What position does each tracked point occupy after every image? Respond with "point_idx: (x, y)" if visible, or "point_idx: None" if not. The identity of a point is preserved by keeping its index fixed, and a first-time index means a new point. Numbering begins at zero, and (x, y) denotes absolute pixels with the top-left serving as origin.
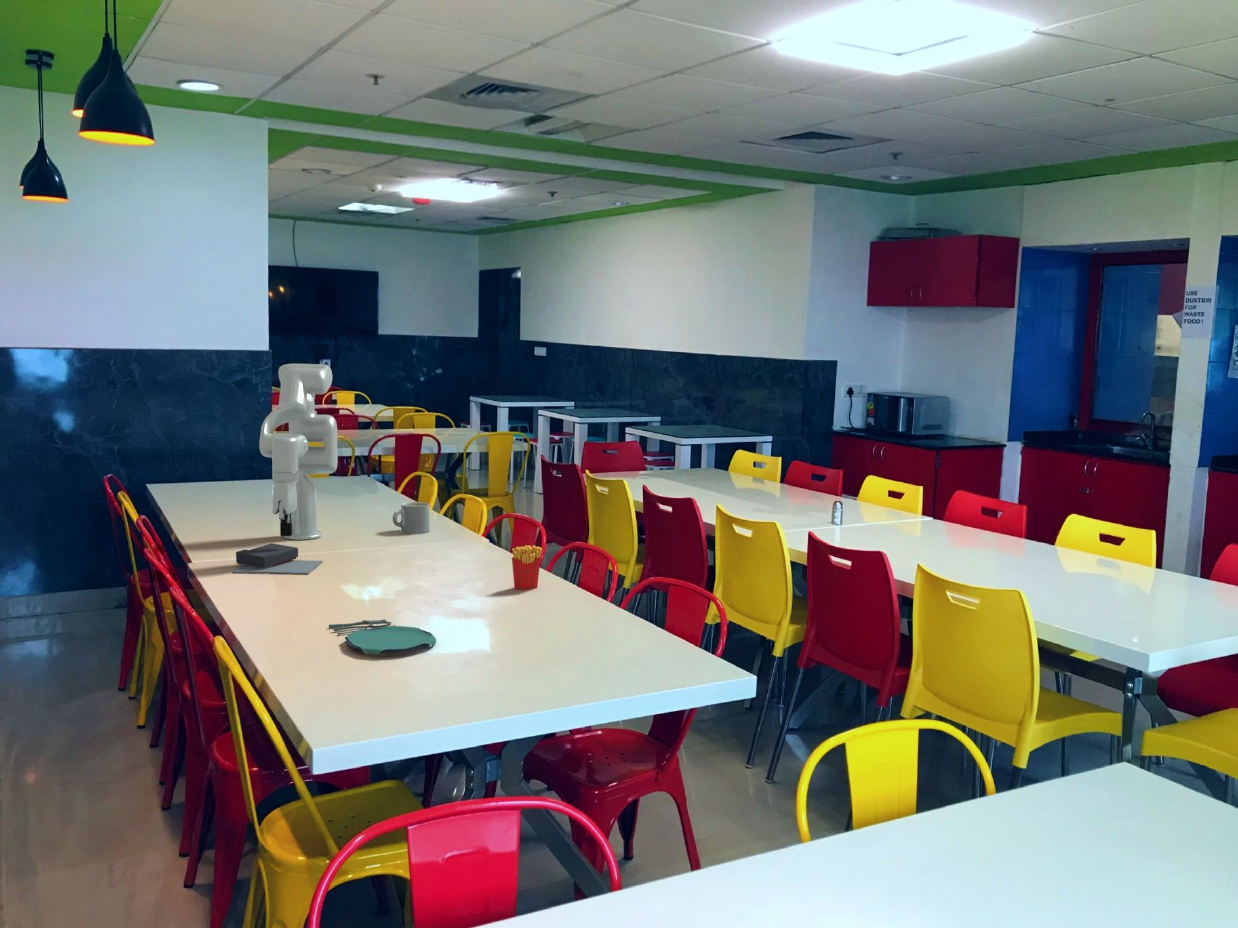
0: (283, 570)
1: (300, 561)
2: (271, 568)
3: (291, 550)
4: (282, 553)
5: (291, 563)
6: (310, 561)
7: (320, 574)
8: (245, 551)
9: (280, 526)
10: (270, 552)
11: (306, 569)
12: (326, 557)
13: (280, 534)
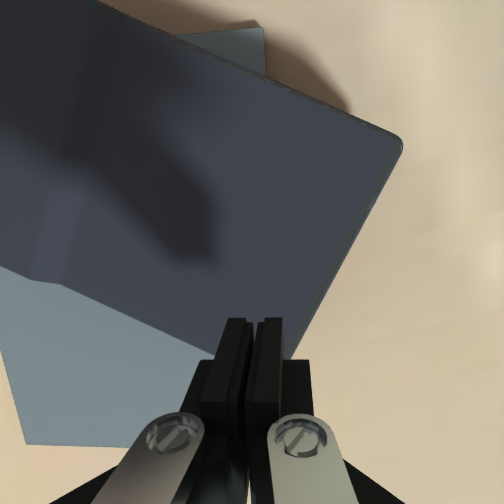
0: (32, 331)
1: None
2: None
3: (210, 353)
4: (131, 316)
5: None
6: None
7: (49, 481)
8: (38, 44)
9: (211, 374)
10: (119, 236)
11: (83, 424)
12: (405, 440)
13: (228, 321)
